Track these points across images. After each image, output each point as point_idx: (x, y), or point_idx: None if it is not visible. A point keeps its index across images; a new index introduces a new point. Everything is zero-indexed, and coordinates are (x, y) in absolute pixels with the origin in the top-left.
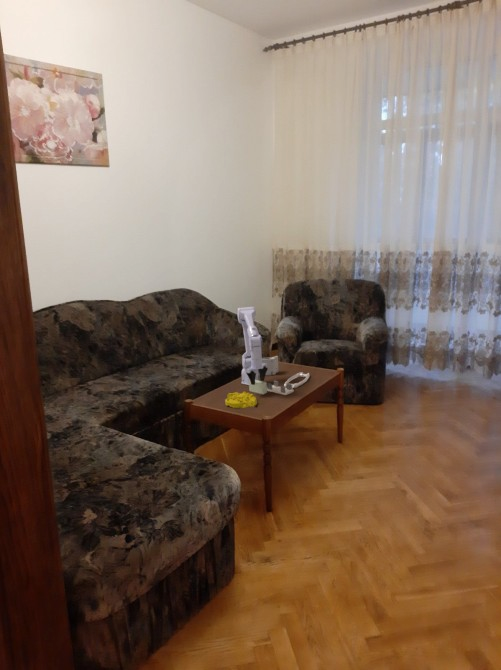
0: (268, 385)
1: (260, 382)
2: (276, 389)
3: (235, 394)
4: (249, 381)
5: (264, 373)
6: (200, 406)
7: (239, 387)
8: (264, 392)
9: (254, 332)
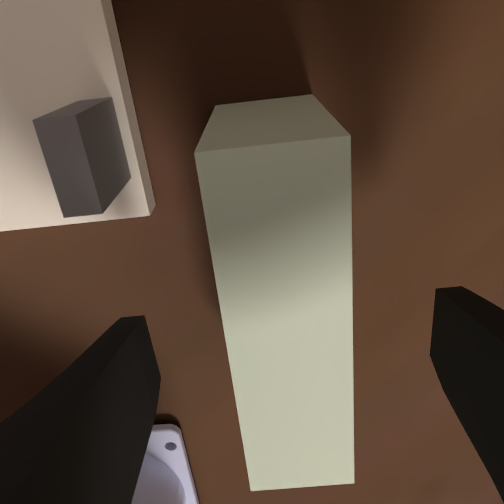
0: (106, 177)
1: (301, 261)
2: (20, 19)
3: None
4: (351, 462)
5: (45, 440)
6: None
7: (305, 490)
8: (281, 101)
9: None
